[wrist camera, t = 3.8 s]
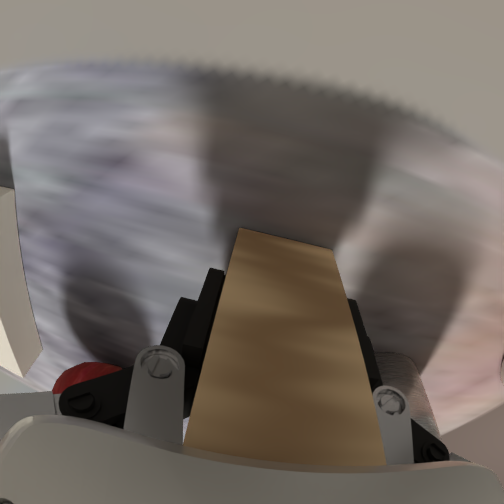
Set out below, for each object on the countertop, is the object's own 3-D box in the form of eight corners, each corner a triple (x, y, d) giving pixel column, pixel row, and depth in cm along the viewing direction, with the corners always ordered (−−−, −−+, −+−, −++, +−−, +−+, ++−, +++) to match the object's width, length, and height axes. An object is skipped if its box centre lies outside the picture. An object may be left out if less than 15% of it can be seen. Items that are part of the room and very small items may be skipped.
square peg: (331, 249, 13) (389, 484, 4) (303, 321, 15) (314, 528, 6) (239, 227, 13) (177, 467, 4) (222, 303, 15) (173, 513, 6)
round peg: (396, 334, 15) (440, 464, 8) (428, 387, 17) (460, 488, 10) (295, 385, 18) (296, 510, 11) (345, 427, 20) (355, 525, 13)
